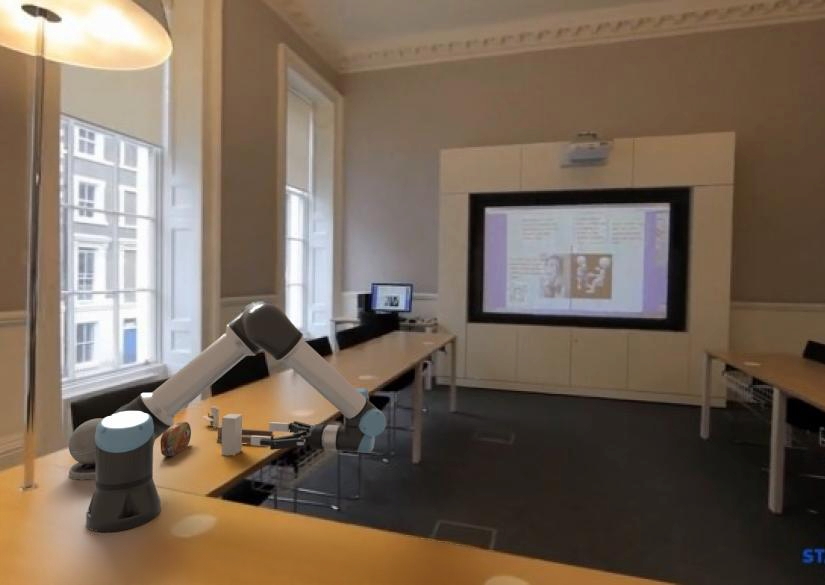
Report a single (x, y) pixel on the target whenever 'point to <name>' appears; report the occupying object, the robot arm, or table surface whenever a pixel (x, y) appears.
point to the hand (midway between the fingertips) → (260, 432)
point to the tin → (175, 439)
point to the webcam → (84, 450)
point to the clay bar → (231, 434)
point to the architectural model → (213, 417)
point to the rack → (247, 434)
